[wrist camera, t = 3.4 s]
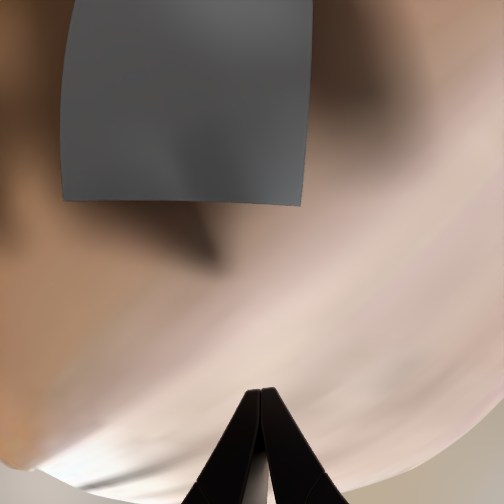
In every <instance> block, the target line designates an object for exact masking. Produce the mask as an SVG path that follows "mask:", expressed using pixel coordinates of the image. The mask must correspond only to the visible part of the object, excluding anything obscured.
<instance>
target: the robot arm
mask: <svg viewBox="0 0 504 504" xmlns="http://www.w3.org/2000/svg"><path fill="white" fill-rule="evenodd" d="M269 471H270V476H271V481H272V486H273V491H274V496H275V500H276V504H349V503H348V502H347V501H346V500H345V498H344V497H343V496H342V495H341V493H340V492H339V491H338V489H337V488H336V486H335V485H334V483H333V482H332V480H331V479H330V477H329V476H328V474H327V473H325V470H324V468H323V467H322V465H321V463H320V462H319V460H318V459H317V457H316V455H315V454H314V452H313V451H312V449H311V447H310V446H309V444H308V442H307V441H306V439H305V437H304V436H303V434H302V432H301V431H300V429H299V427H298V426H297V424H296V422H295V421H294V419H293V417H292V416H291V414H290V412H289V411H288V409H287V407H286V405H285V404H284V402H283V400H282V399H281V397H280V395H279V393H278V392H277V390H276V388H275V387H268V388H262V389H261V390H260V389H252V390H247V391H246V392H245V394H244V396H243V398H242V400H241V402H240V404H239V405H238V407H237V409H236V411H235V413H234V415H233V417H232V418H231V420H230V422H229V424H228V426H227V428H226V429H225V431H224V433H223V435H222V437H221V438H220V440H219V442H218V444H217V446H216V447H215V449H214V451H213V453H212V454H211V456H210V458H209V459H208V461H207V463H206V465H205V466H204V468H203V470H202V471H201V473H200V475H199V476H198V478H197V480H196V481H197V482H195V483H194V485H193V486H192V488H191V489H190V491H189V493H188V494H187V496H186V497H185V499H184V500H183V502H182V503H181V504H267V492H268V476H269Z"/></svg>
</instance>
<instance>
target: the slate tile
mask: <svg viewBox="0 0 504 504" xmlns="http://www.w3.org/2000/svg"><path fill="white" fill-rule="evenodd" d="M312 24H313V0H75V3H74V7H73V12H72V16H71V21H70V26H69V32H68V37H67V44H66V50H65V58H64V66H63V75H62V87H61V103H60V161H61V178H62V190H63V201H102V200H161V201H204V202H231V203H252V204H270V205H286V206H300V207H301V197H302V187H303V177H304V165H305V154H306V141H307V128H308V113H309V97H310V79H311V56H312Z"/></svg>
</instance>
